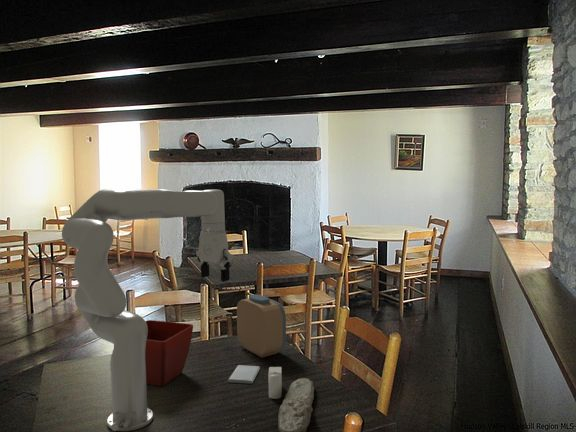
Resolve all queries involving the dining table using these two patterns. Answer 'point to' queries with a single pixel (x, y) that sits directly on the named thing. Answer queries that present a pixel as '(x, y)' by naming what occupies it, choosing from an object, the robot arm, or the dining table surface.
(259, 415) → the dining table surface
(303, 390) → the long grey stone
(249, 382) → the hard drive
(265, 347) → the alarm clock
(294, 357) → the dining table surface
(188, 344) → the plant pot
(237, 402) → the dining table surface
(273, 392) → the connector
